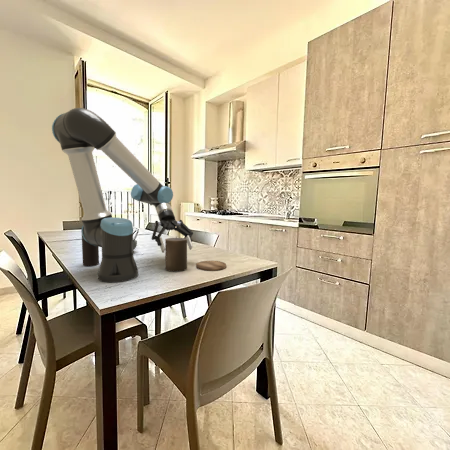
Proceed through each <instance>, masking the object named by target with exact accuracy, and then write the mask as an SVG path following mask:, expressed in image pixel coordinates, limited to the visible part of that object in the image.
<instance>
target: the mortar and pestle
mask: <svg viewBox="0 0 450 450" xmlns="http://www.w3.org/2000/svg"><path fill="white" fill-rule="evenodd" d="M137 245H138V241H137V240H136V239H133V254H134V253H135V249H136V248H137Z"/></svg>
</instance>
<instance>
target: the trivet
mask: <svg viewBox="0 0 450 450" xmlns="http://www.w3.org/2000/svg"><path fill="white" fill-rule="evenodd" d="M195 265H196V266H195V267H196V269H198V270H200V271H204V272H205V271H206V272H216V271H217V272H218V271H223V270H225V269H226V268H227V264H226V263H225V262H223V261H219V260H204V261H202V260H201V261H199V262H197V263H196V264H195Z"/></svg>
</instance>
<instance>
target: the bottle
mask: <svg viewBox="0 0 450 450" xmlns="http://www.w3.org/2000/svg"><path fill="white" fill-rule="evenodd" d="M81 249H82V250H81V251H82V252H81V253H82V255H81V256H82V266H84V267H95V266H97V265H98V266H99V265H100V253H99V250H100V249H99V246H94V245H91V244H90V243H88V242H86V241H85V240H84V238H83V236H82V235H81Z"/></svg>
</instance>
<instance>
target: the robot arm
mask: <svg viewBox="0 0 450 450" xmlns="http://www.w3.org/2000/svg"><path fill="white" fill-rule="evenodd" d="M51 132H52V133H51V134H52V135H53V137H54V139H55V141H57V142H58V143H59V145H60V148H61V151H62V152H63V153H65V154H66V155H67V156H68V161H69V163H70V167H71V171H72V174H73V178H74V183H75V185H76V189H77V192H78V196H79V200H80V203H81V206H82V211H83V216H82V218H81V222H82V226H81V231H80V233H81V237H82V236H83V238H84V240H85V241H86V242H88V243H90V244H91V245H94V246H99V247H100V248H101V260H100V263H99V267H98V270H97V280H99V281H100V282H102V283H103V282H104V283H119V282H126V281H130V280H134V279H135V278H137V277H138V276H139V268H138V267H137V263H136V261H135V258H134V253H133V251H134V250H133V240H134V227H133V222H132V221H131V220H130V219H128V218H122V217H113V215H112V212H110V211H109V210H107V207H106V203H105V199H104V195H103V191H102V188H101V184H100V179H99V175H98V171H97V167H96V162H95V159H94V156H93V155H94V154H93V152H94V150H97V151H102V153H104V154H105V155H106V156H107V157H108V158H109V159H110V160H111V161H112V162H113V163H114V164H115V165H116V166H118V168H120V169H121V170H122V172H123V173H125V174H126V175H127V176H128V177H129V178H130V179H131V180H132V181H134V183H136V184H135V185H133V186H132V188H131V191H130V197H131V198H132V199H133V200H135V201H137V202H140V203H145V204H148V205H152V206H153V207H154V209H155V211H156V214H157V216H158V220H159V221H158V220H155V221H154V224H153V225H154V229H153V232H152V235H151V240H152V241H154V240H155V241H154V242H156V244H157V246H158V247H160V250H161V251H160V252H161V253H165V243H164V241H163V238H162V235H163V234H164V232H165V231H166V230H167V231H175V232H178V233H179V234H180V235H182V236H184V238H186V239H187V247H188V249H189V251H190V250H191V251H192V249H193V248H194V246H193V243H192V242H193V239H192V237H193V234H194V232H193V231H192V230H191V229H190V228H189V227H188V226H187V225H186V224H185V223H184V222H183V220H182V219H179V221H178V220H176V217H175V214H174V212H173V209H172V206H171V203H170V202H172V200H173V197H174V192H173V189H172V188H171V187H169V186H166V185H163V184H162V183H161V182H160V181H159V180H158V179H157V177H155V175H153V174H152V173H151V171H150V170H148V169H147V168H146V166H145V165H143V163H142V162H141V161H140V160H139V159H138V158H137V157H136V156H135V155H134V154H133V153H132V152H131V150H130V149H128V148H127V146H125V144H124V143H123V142H122V141H121V140H120V139H119V138H118V137H117V133H116V131H115V129H114V128H112V127H111V125H109V123H107V122H106V121H105V120H104V119H103V118H102V117H101V116H99V115H98V114H97V113H95V112H94V111H92V110H89V109H87V108H83V107H75V108H71V109H69V110H68V111H67V112H63V113H61V114H59V115H58V116H57V117H55V119H54V121H53V122H52V125H51ZM159 227H162V228H161V229H160V231H159V232H158V234H157V231H158V229H159Z"/></svg>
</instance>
